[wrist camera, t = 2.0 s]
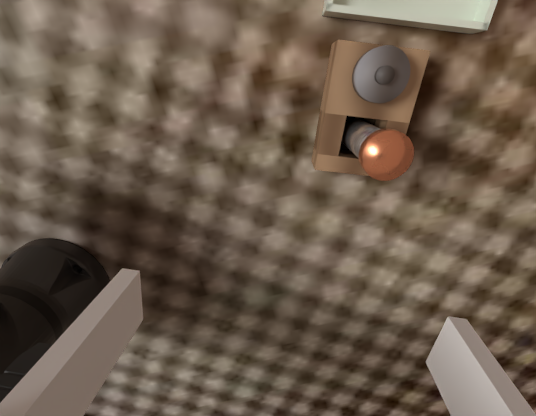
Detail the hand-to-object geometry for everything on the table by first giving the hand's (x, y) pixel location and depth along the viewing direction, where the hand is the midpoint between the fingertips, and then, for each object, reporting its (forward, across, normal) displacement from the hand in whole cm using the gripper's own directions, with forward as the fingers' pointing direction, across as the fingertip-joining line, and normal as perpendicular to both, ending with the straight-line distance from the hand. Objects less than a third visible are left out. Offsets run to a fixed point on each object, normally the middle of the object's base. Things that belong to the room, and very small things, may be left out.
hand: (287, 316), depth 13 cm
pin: (+27, +7, +4) cm, 28 cm away
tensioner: (+27, +7, +7) cm, 29 cm away
